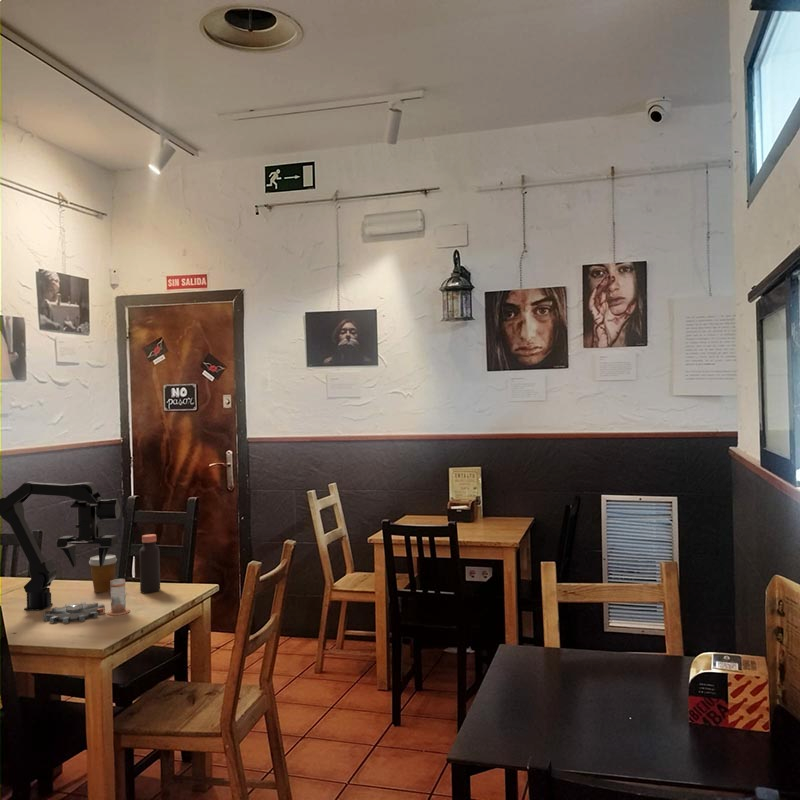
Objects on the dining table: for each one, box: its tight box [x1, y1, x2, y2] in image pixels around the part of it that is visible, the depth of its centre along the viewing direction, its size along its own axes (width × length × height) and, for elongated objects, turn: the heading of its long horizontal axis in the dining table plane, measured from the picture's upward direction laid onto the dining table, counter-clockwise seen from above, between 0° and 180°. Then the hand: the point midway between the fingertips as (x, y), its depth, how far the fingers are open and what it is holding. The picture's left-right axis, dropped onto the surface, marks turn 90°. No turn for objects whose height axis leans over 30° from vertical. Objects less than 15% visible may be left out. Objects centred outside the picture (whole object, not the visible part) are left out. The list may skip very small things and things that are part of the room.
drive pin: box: [110, 578, 126, 613], centre depth 233 cm, size 4×4×10 cm
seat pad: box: [106, 608, 131, 616], centre depth 233 cm, size 7×7×1 cm
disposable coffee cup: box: [88, 554, 118, 593], centre depth 262 cm, size 10×10×12 cm
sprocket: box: [43, 601, 106, 624], centre depth 231 cm, size 18×18×3 cm
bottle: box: [139, 533, 161, 594], centre depth 259 cm, size 7×7×20 cm
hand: (87, 566), depth 242 cm, fingers open, 9 cm apart
